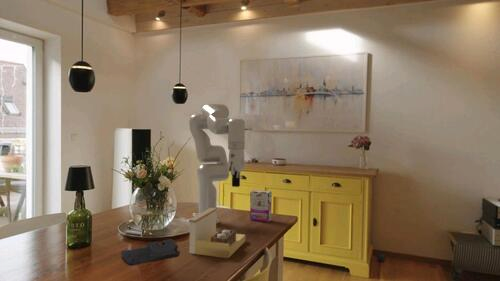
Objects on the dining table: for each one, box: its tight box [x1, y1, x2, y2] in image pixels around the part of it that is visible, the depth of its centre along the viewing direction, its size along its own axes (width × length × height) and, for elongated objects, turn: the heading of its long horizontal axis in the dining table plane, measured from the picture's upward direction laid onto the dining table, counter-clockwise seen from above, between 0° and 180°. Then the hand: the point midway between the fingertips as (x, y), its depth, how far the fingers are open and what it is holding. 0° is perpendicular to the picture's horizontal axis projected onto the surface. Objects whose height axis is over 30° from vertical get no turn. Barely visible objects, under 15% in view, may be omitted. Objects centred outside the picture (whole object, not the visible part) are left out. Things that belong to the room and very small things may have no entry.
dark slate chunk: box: [120, 238, 180, 266], centre depth 145 cm, size 15×22×5 cm
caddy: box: [211, 228, 237, 246], centre depth 150 cm, size 6×12×5 cm, turn 163°
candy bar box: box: [249, 189, 273, 223], centre depth 199 cm, size 11×5×16 cm, turn 67°
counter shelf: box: [188, 207, 246, 259], centre depth 155 cm, size 17×23×14 cm
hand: (235, 186), depth 162 cm, fingers closed
